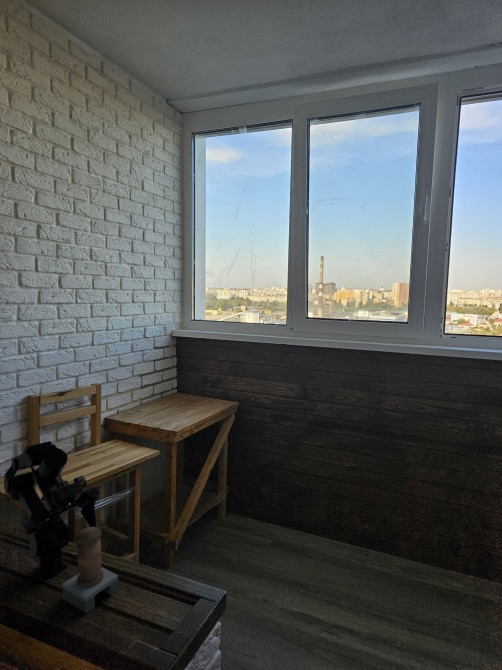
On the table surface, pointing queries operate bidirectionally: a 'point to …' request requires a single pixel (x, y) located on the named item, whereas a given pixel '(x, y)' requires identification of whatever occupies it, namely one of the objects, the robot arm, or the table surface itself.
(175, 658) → the table surface
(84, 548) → the brown flanged cylinder
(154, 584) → the table surface
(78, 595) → the grey bridge block
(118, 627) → the table surface
